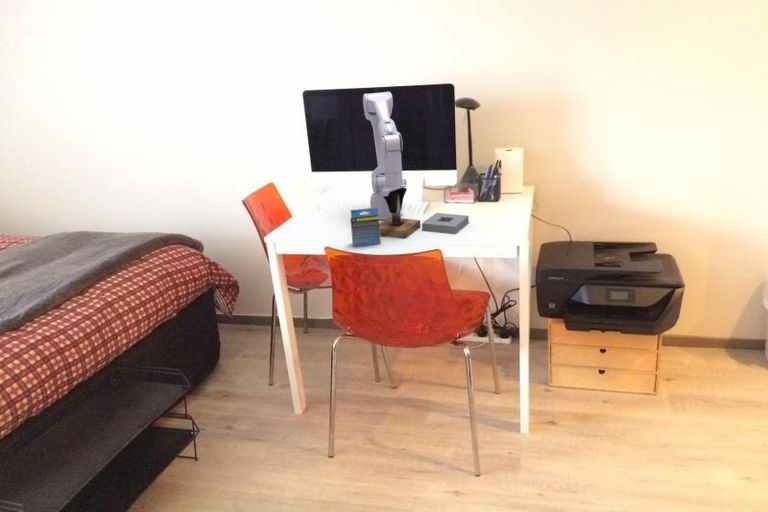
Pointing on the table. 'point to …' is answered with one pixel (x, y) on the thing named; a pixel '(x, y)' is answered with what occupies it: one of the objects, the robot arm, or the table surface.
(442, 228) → the block
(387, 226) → the socket block
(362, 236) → the label tape box
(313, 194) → the table surface
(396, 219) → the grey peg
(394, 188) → the robot arm
